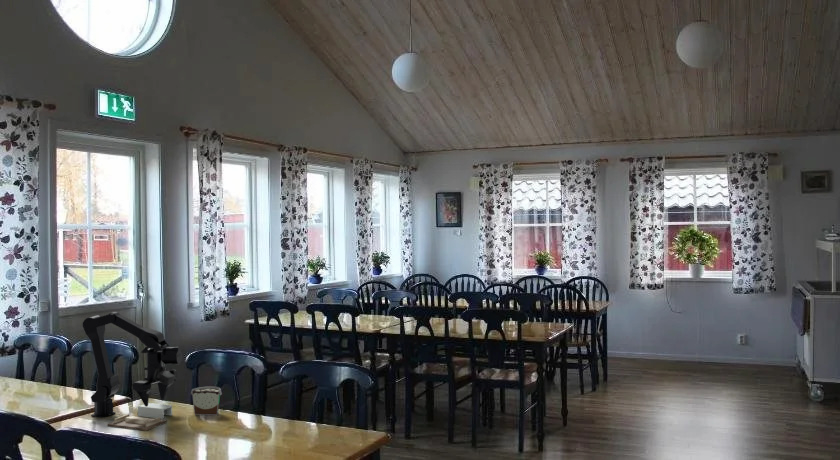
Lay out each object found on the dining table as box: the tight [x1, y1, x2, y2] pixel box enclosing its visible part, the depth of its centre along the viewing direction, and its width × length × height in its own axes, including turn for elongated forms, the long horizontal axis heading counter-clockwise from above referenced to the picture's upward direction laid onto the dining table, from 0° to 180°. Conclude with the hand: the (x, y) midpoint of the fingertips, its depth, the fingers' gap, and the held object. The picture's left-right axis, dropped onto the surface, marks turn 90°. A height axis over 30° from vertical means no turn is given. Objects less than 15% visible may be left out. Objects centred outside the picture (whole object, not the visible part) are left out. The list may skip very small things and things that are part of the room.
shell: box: [137, 402, 173, 420], centre depth 271 cm, size 12×6×4 cm, turn 71°
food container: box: [190, 386, 223, 416], centre depth 275 cm, size 12×6×10 cm, turn 84°
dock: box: [107, 413, 168, 431], centre depth 259 cm, size 18×11×2 cm, turn 71°
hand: (154, 403), depth 271 cm, fingers open, 9 cm apart
